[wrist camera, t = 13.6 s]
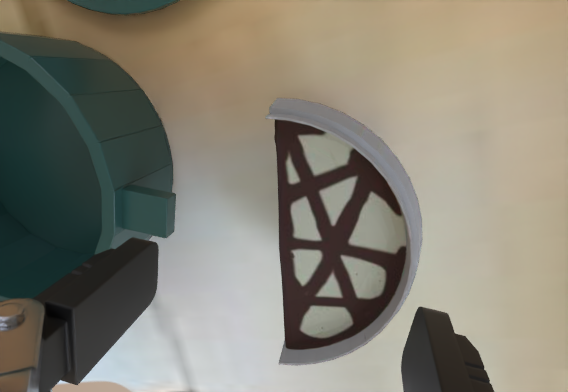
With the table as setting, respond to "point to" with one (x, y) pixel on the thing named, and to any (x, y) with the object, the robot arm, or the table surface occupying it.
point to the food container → (340, 231)
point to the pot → (74, 161)
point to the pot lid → (124, 6)
